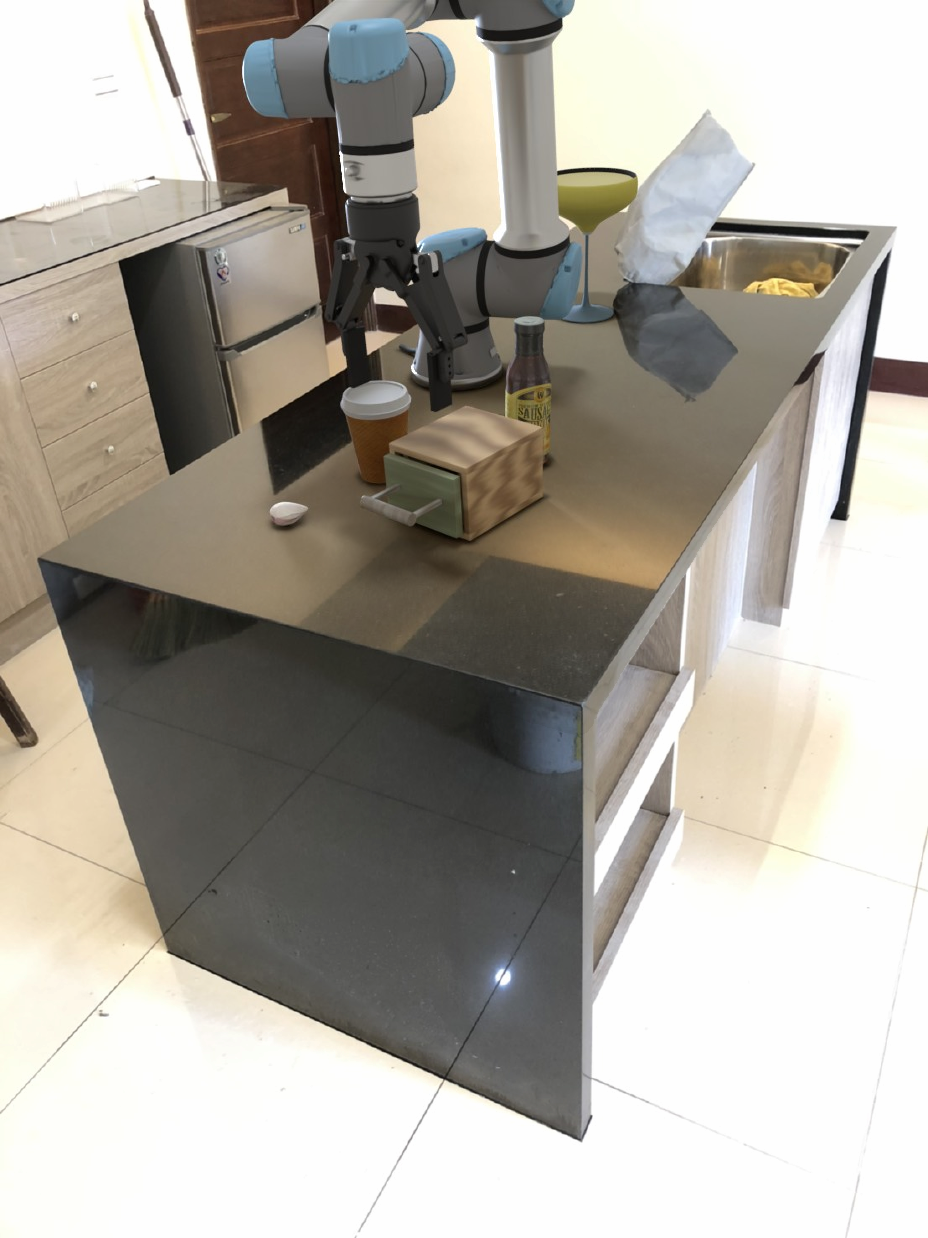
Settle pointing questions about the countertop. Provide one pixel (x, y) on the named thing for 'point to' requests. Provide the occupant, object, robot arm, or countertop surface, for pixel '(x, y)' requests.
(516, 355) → the sauce bottle
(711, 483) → the countertop surface
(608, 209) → the cocktail glass
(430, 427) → the cabinet
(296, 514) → the white teardrop piece
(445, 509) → the drawer
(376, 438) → the disposable coffee cup
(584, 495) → the countertop surface
